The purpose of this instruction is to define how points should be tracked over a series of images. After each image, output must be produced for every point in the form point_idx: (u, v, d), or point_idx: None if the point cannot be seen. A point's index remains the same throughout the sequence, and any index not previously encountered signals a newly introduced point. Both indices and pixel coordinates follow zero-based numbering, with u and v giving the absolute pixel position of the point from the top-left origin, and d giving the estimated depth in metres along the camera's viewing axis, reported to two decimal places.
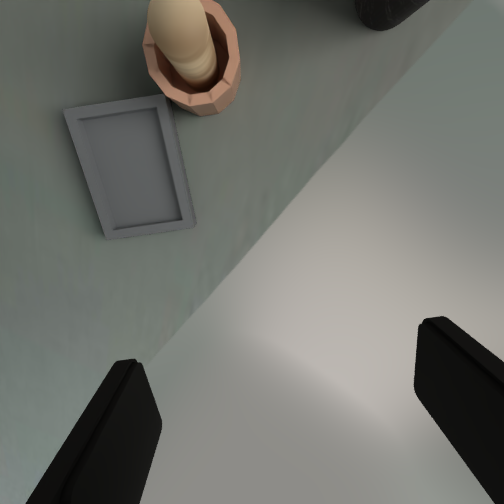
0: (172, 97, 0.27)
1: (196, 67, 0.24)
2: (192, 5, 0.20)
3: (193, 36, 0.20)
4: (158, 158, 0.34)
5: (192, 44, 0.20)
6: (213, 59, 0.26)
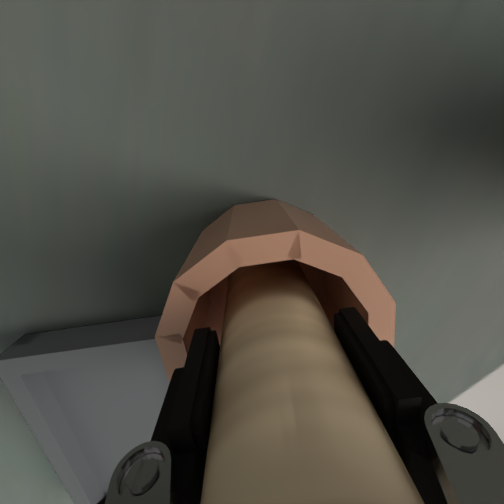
0: None
1: None
2: None
3: None
4: None
5: None
6: None
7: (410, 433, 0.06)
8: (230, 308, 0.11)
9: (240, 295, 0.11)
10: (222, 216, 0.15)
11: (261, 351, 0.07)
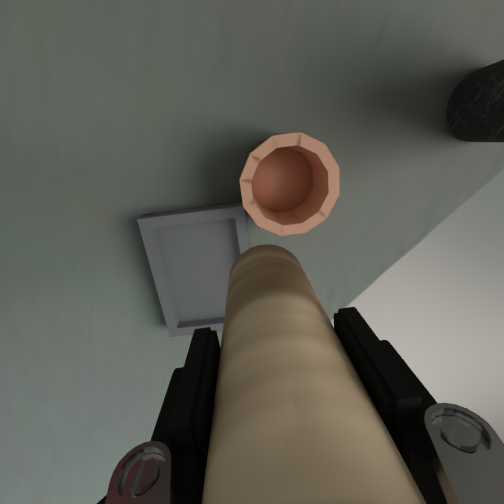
0: (264, 227, 0.26)
1: None
2: None
3: None
4: (228, 260, 0.33)
5: None
6: None
7: (410, 433, 0.06)
8: (231, 308, 0.11)
9: (241, 295, 0.11)
10: None
11: (262, 351, 0.07)
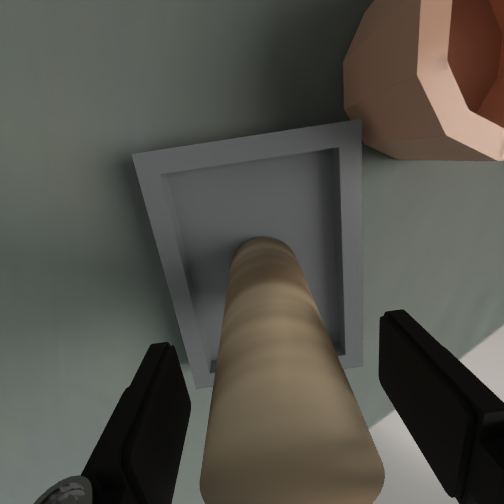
0: (460, 138, 0.10)
1: None
2: (349, 458, 0.06)
3: None
4: (310, 243, 0.17)
5: None
6: None
7: (496, 450, 0.05)
8: (231, 293, 0.12)
9: (239, 283, 0.12)
10: None
11: (255, 328, 0.09)
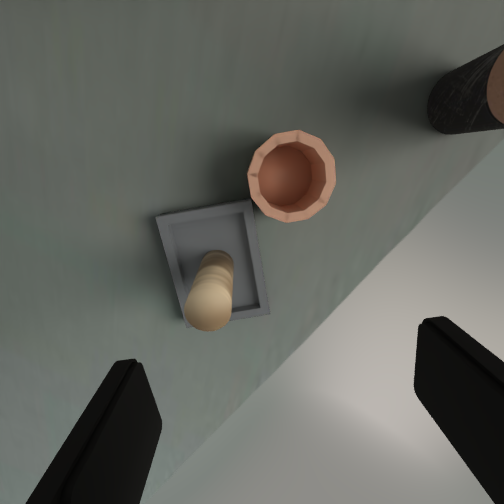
0: (270, 216, 0.29)
1: None
2: (220, 300, 0.25)
3: (220, 318, 0.25)
4: (238, 252, 0.36)
5: (220, 323, 0.25)
6: None
7: None
8: (197, 272, 0.31)
9: (201, 267, 0.31)
10: None
11: (201, 277, 0.27)
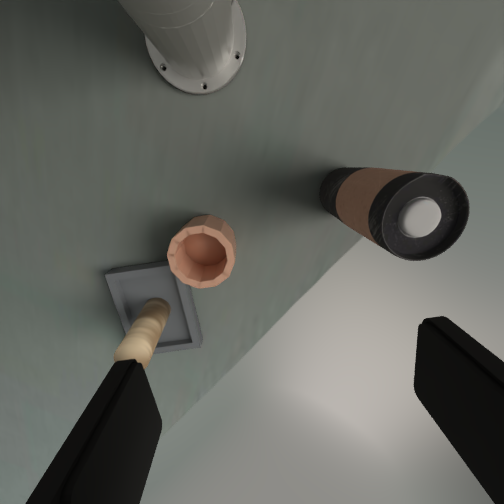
0: (187, 283, 0.38)
1: None
2: (139, 351, 0.34)
3: None
4: (174, 299, 0.45)
5: None
6: (160, 335, 0.40)
7: None
8: None
9: (137, 317, 0.40)
10: (189, 221, 0.41)
11: (131, 330, 0.37)
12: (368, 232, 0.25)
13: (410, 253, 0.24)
